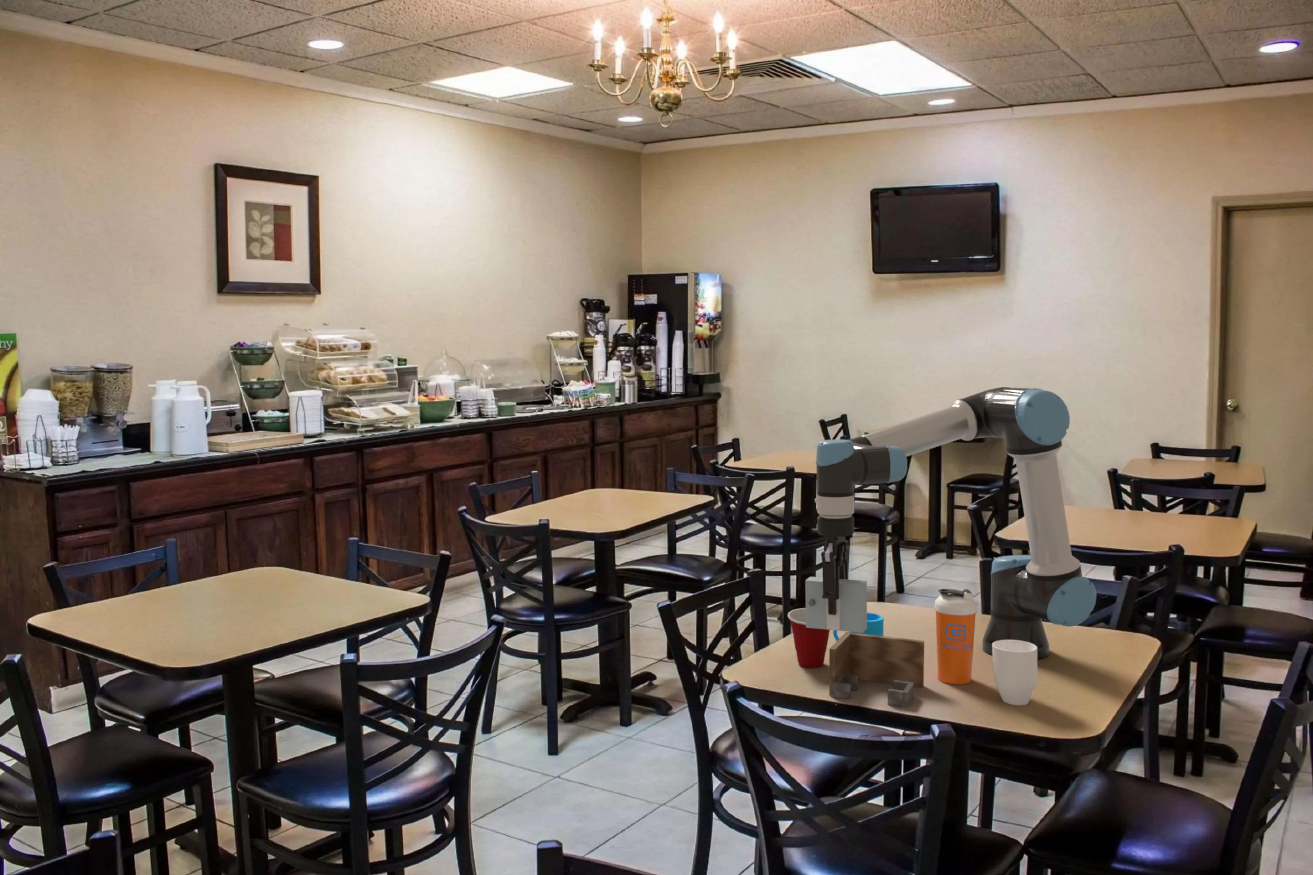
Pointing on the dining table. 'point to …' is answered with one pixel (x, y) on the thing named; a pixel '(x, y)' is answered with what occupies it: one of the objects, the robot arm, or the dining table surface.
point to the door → (850, 605)
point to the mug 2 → (1015, 670)
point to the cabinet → (876, 665)
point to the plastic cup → (808, 640)
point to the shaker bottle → (955, 635)
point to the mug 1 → (870, 626)
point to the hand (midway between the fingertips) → (836, 626)
